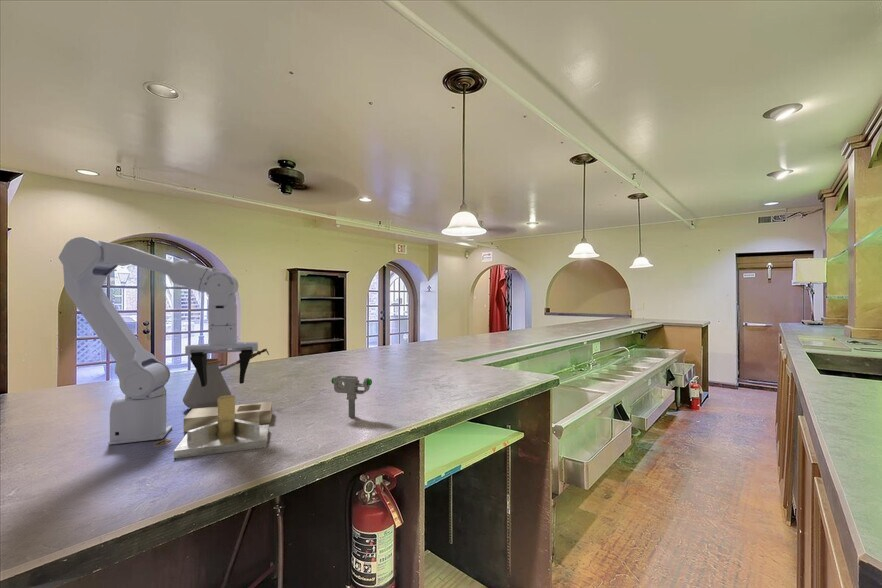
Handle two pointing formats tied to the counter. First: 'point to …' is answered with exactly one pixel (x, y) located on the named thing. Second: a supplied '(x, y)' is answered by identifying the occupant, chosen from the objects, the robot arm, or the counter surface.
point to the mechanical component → (350, 389)
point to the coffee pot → (209, 385)
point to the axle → (226, 416)
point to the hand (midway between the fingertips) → (223, 384)
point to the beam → (242, 412)
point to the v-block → (222, 439)
